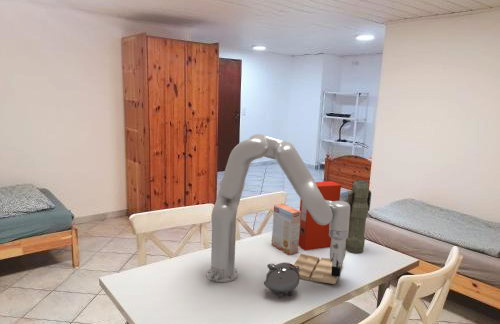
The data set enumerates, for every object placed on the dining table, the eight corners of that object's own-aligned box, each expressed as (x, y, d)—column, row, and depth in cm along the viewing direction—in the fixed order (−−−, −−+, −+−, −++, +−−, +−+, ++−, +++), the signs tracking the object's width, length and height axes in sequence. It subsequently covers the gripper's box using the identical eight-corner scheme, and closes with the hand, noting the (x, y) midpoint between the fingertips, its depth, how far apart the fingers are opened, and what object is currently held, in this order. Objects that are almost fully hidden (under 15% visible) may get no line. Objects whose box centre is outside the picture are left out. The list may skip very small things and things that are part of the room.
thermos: (338, 248, 181) (345, 179, 174) (357, 244, 186) (364, 178, 179) (350, 255, 173) (357, 183, 166) (369, 252, 178) (377, 182, 171)
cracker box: (298, 253, 173) (301, 211, 169) (288, 255, 170) (291, 212, 166) (280, 242, 185) (283, 202, 181) (271, 244, 181) (273, 204, 177)
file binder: (335, 247, 182) (341, 185, 176) (304, 251, 176) (309, 186, 170) (326, 240, 189) (331, 181, 183) (296, 244, 183) (301, 182, 177)
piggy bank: (257, 290, 139) (258, 262, 137) (289, 282, 146) (291, 255, 144) (272, 305, 129) (274, 275, 127) (306, 296, 136) (308, 267, 134)
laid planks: (310, 281, 147) (310, 277, 147) (288, 275, 151) (288, 272, 151) (320, 261, 166) (321, 257, 165) (300, 256, 169) (301, 253, 169)
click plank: (335, 284, 144) (335, 280, 143) (311, 280, 147) (311, 277, 147) (343, 263, 162) (342, 259, 161) (321, 261, 165) (321, 257, 165)
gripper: (345, 240, 136) (342, 286, 139) (350, 227, 149) (347, 269, 153) (325, 237, 139) (322, 281, 142) (332, 224, 152) (329, 265, 156)
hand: (335, 275), depth 147 cm, fingers closed
